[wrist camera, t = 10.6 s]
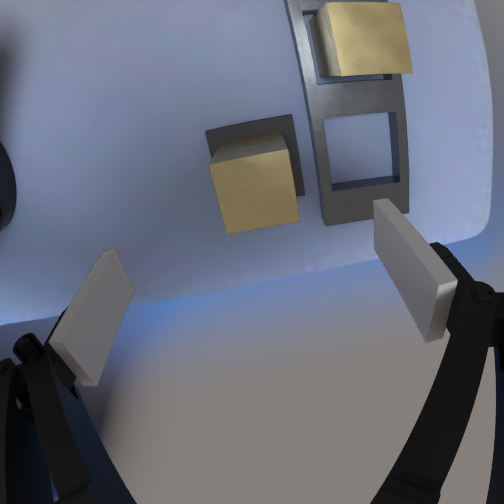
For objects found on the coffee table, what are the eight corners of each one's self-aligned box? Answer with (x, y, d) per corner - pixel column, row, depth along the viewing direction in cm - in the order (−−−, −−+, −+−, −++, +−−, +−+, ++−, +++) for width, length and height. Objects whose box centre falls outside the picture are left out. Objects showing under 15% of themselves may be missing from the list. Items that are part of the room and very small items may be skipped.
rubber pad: (225, 207, 32) (224, 209, 32) (206, 130, 28) (205, 131, 28) (304, 193, 31) (305, 195, 31) (291, 114, 27) (291, 115, 27)
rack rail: (322, 217, 33) (325, 226, 31) (279, -17, 21) (281, -23, 19) (401, 205, 32) (408, 213, 30) (373, -20, 19) (380, -25, 18)
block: (319, 76, 25) (341, 76, 18) (308, 21, 23) (326, 2, 16) (375, 71, 25) (412, 73, 18) (365, 18, 22) (399, 3, 15)
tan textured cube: (234, 195, 31) (227, 234, 24) (221, 142, 28) (208, 165, 21) (290, 185, 30) (300, 221, 23) (280, 130, 28) (287, 149, 21)
